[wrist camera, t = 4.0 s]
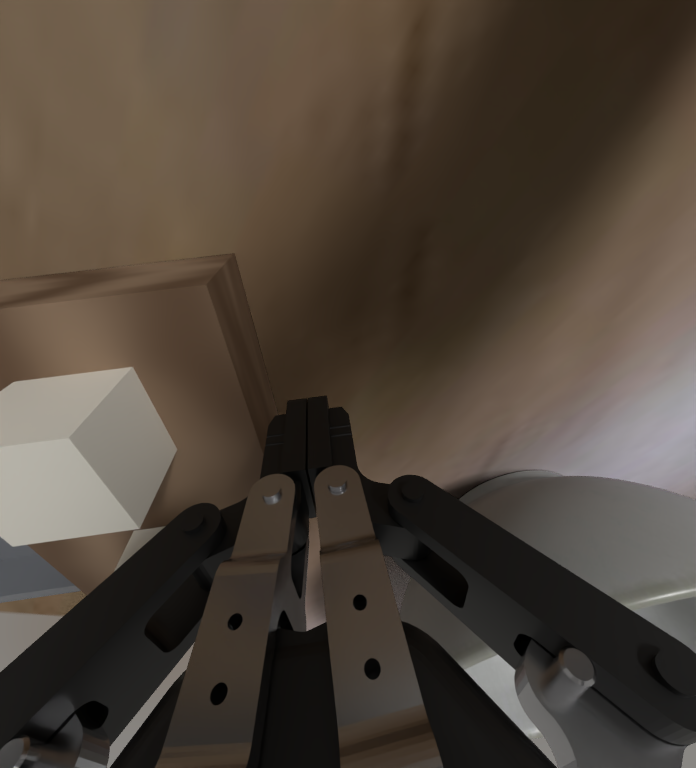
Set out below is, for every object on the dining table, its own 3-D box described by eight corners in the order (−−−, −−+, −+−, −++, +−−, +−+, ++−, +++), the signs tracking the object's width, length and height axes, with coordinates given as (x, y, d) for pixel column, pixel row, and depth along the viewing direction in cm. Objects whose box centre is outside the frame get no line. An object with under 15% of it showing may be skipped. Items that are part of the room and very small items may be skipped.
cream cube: (132, 366, 12) (68, 437, 9) (177, 449, 15) (139, 528, 12) (13, 381, 12) (-96, 459, 9) (78, 462, 15) (12, 546, 12)
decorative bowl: (371, 602, 37) (394, 763, 27) (350, 425, 22) (384, 641, 12) (598, 567, 38) (702, 711, 28) (727, 373, 23) (1057, 535, 13)
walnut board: (234, 253, 15) (206, 284, 11) (304, 510, 26) (303, 573, 22) (-72, 288, 15) (-221, 334, 11) (131, 534, 26) (96, 604, 22)
